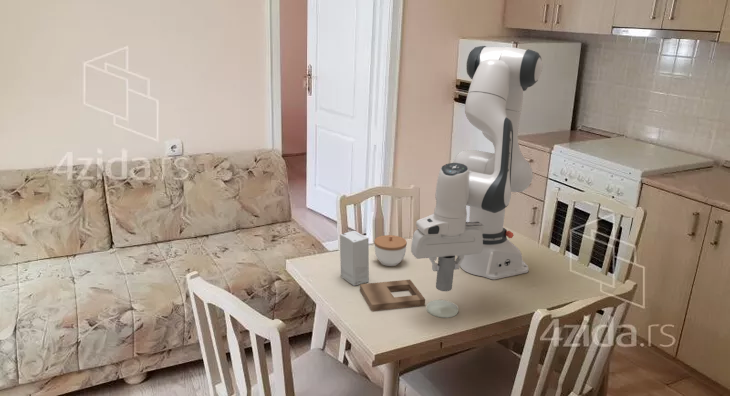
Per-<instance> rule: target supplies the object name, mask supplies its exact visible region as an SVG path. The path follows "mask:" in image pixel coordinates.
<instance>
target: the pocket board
mask: <svg viewBox="0 0 730 396" xmlns="http://www.w3.org/2000/svg"><path fill="white" fill-rule="evenodd" d="M359 291H360V293H361V294H362V296H363V298H364V300H365V302H366V303H367V306H368V307H369V309H370V311H371V312H374V311H375V312H376V311H377V312H378V311H385V310H396V309H403V308H404V309H405V308H413V307H423V306H425V305H426V299H425V297H424V296H423V294H422V293H421V291H419V289H418V288H417V286H416V285H415V284H414V283H413V281H412V280H411V279H401V280H400V279H399V280H392V281H380V282H371V283H370V282H367V283H363V284H359ZM404 291H405V292H407V291H408V292H409V293H410V295H405V296H404V295H403V296H395V297H394V295H393V293H394V292H404Z"/></svg>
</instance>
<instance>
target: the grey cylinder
mask: <svg viewBox="0 0 730 396" xmlns="http://www.w3.org/2000/svg"><path fill="white" fill-rule="evenodd" d="M455 260H456V256H446V257H437V263H438V265H439V266H440V267H439V271H436V281H435V288H436V289H437V290H438V291H441V292H450V291H452V290H453V284H454V283H453V282H454V281H453V280H454V271H455V270H454V263H455Z"/></svg>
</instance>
